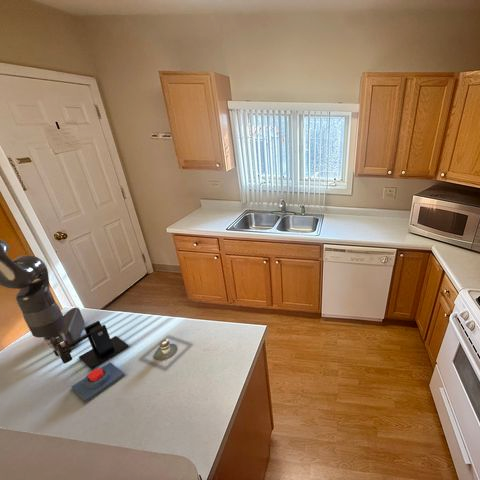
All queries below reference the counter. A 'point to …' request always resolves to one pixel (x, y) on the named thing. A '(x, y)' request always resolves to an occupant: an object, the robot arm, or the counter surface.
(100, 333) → the bracket
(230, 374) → the counter surface
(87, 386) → the button box
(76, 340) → the lever
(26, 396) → the counter surface
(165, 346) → the brass knob on disc
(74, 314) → the leaning round-cornered charcoal block
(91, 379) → the button
